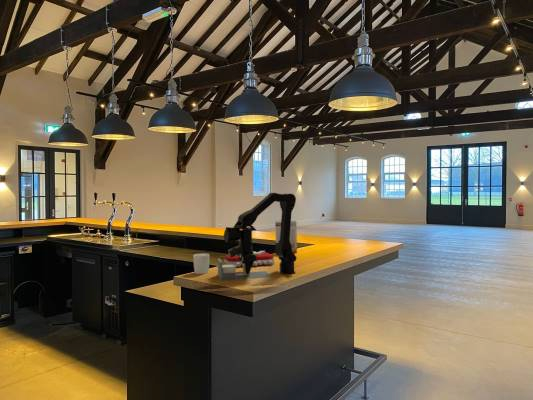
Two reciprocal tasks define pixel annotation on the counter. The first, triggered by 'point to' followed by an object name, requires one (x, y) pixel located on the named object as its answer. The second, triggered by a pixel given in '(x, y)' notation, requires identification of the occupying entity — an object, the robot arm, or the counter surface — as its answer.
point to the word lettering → (262, 260)
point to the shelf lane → (239, 276)
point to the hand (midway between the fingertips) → (246, 273)
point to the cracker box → (292, 234)
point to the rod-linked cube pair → (232, 269)
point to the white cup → (201, 263)
